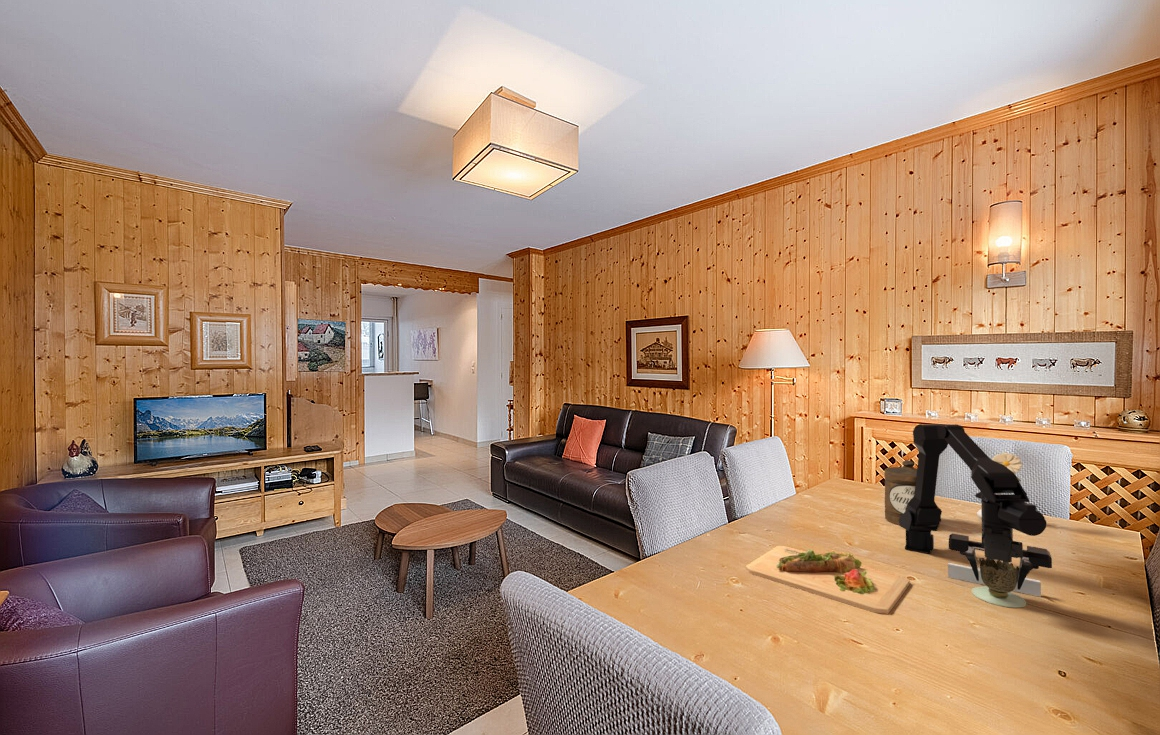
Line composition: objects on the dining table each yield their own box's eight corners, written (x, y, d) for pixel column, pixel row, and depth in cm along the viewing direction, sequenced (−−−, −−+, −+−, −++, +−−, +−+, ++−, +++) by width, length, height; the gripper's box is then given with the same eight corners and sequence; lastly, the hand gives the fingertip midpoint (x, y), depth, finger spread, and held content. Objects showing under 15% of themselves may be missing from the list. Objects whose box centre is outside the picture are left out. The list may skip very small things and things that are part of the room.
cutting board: (911, 584, 126) (910, 556, 126) (886, 619, 110) (885, 586, 110) (779, 550, 151) (778, 526, 151) (743, 573, 135) (742, 547, 135)
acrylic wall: (948, 577, 129) (947, 564, 129) (948, 575, 129) (948, 562, 129) (1041, 596, 117) (1040, 582, 117) (1040, 594, 118) (1040, 580, 118)
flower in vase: (969, 519, 173) (968, 450, 173) (987, 514, 178) (986, 447, 178) (1014, 530, 161) (1013, 456, 161) (1032, 525, 166) (1030, 452, 166)
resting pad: (971, 599, 117) (971, 598, 117) (972, 584, 124) (972, 583, 124) (1027, 612, 110) (1027, 610, 110) (1024, 595, 118) (1024, 594, 118)
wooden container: (892, 526, 168) (891, 464, 168) (879, 513, 182) (878, 455, 182) (942, 530, 163) (941, 465, 163) (925, 516, 178) (924, 457, 177)
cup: (1026, 604, 113) (1027, 571, 113) (990, 601, 114) (991, 568, 114) (1005, 590, 120) (1005, 558, 120) (971, 587, 122) (972, 556, 122)
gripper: (946, 522, 117) (947, 586, 117) (1054, 539, 105) (1055, 610, 105) (949, 510, 125) (950, 570, 126) (1048, 525, 113) (1049, 590, 114)
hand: (997, 584), depth 117 cm, fingers open, 7 cm apart
